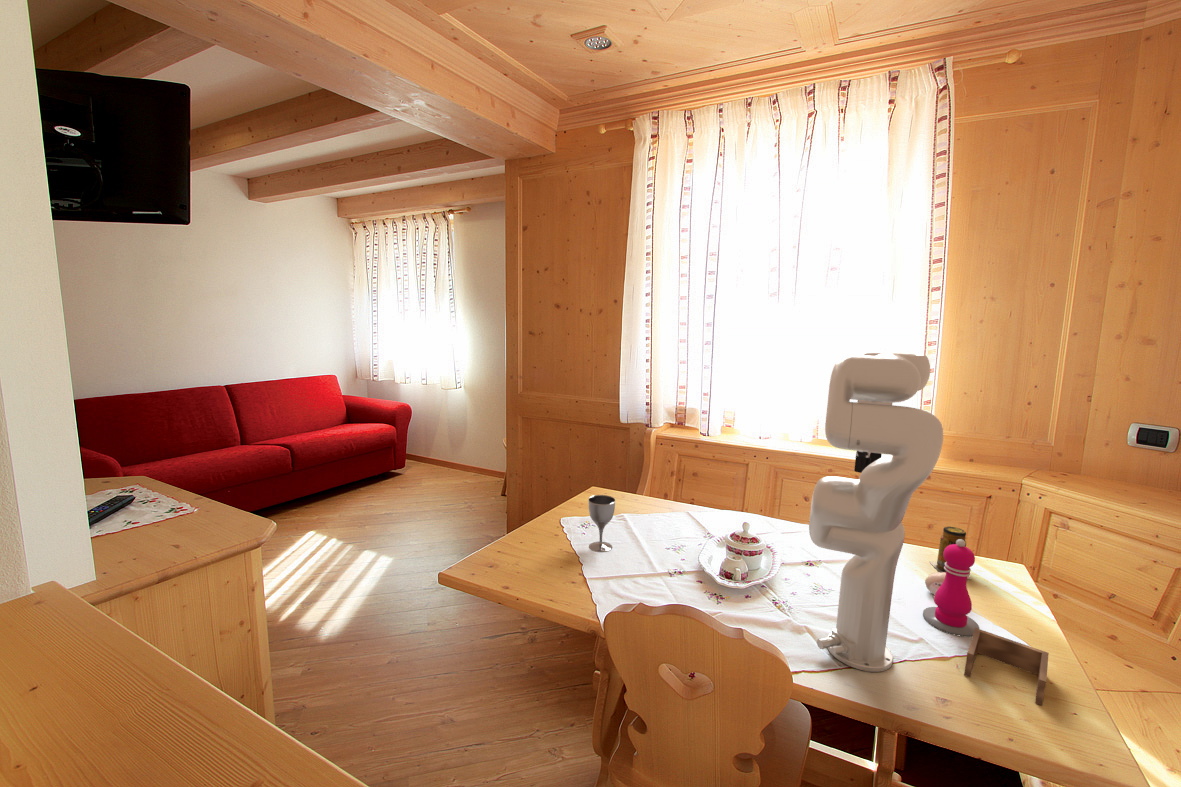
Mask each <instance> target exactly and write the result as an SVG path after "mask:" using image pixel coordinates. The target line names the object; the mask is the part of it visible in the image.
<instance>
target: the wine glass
mask: <svg viewBox="0 0 1181 787" xmlns="http://www.w3.org/2000/svg"><path fill="white" fill-rule="evenodd" d="M615 510H616V499H615V498H614V497H613V496H610V495H606V494H597V495H595V494H594V495H591V496H590V497H588V513H589V517H590V519H591V520H592V522H593V523H594V524H595V525H596V526H597V528H598V535H599V541H593V542H591V543H590V544H589V546H588V548H589V550H590V551H593V552H597V553H607V552H610V551H611V550H612V549H613V545H612V544H611V543H609V542H606V541H603V532H604V529H605V527H606V526H607V525H608V524H609V523H610V522H611V520H612V519H613V517H614V514H615Z"/></svg>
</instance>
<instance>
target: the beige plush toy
mask: <svg viewBox="0 0 1181 787" xmlns="http://www.w3.org/2000/svg"><path fill="white" fill-rule="evenodd" d="M945 576H946V573H945V572H942V573H940V572H939V571H937V572H933V573H931V574H929V575H928V576H927V577H926V578H925V580H924V581H925V582H924V585H925V587H926V589H927V590H928V591H929V592H930V593H932V594H933V595H934V596H935V594H936V592H937V590H938V589H939V587H940V586H941V585H942V583H943V582H944V580H945Z"/></svg>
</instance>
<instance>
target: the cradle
mask: <svg viewBox="0 0 1181 787" xmlns="http://www.w3.org/2000/svg"><path fill="white" fill-rule="evenodd" d="M966 653H967V654H966V660H965V665H964V666H965V667H964V673H963V676H965V677H968V678H971V675H972V672H973V668H974V666H975V663H976V658H977V655H978V653H979V655H981V656H984V657H987V658H989V659H993V660H995V661H997V662H1000V663H1003V664H1006V665H1009V666H1011V667H1014V668H1016V669H1019V670H1022V671H1025V672H1028V673H1029V674H1033V675H1036V676H1037V681H1036V691H1035V700H1034V704H1036V705H1039V706H1041V707H1043V702H1044V697H1045V696H1044V695H1045V692H1046V686H1047V681H1048V680H1047V678H1048V662H1049V655H1050V654H1049V652H1047V651H1044V650H1042V649H1038V648H1036V647H1033V646H1030V645H1028V644H1027V645H1026V644H1024V643H1021V642H1018V641H1016V640H1011V638H1010V639H1009V638H1006V637H1004V636H1000V635H998V634H995V633H992V632H989V631H986V630H983V629H980V628H979V629H978V628H975V630H974V633H973V636H971V639H970V644H969V646H968V650H967V652H966Z"/></svg>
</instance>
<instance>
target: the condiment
mask: <svg viewBox="0 0 1181 787" xmlns="http://www.w3.org/2000/svg"><path fill="white" fill-rule="evenodd" d="M966 535H967V533H966V531H965V530H964V529H961V528H959V527H956V526H944V527H943V531H942V535H941V536H940V539H939V540H940V541H939V546H938V554H937V560H936V562H935V561H929V563H930V564H931V565H932V567H934V568H935V570H937V572H940V573H942V572H945V573H946V570H945V569H944V567H945V562H946V560H945V559H944V556H943V552H944V549H945V548H946V547H947V546H949V545H952V544H956V541H957V540H958V539H962V540H964V541H965V547H967V541H966V539H967V538H966ZM967 580H972V577H970V575H969V576H968V577H967Z"/></svg>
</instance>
